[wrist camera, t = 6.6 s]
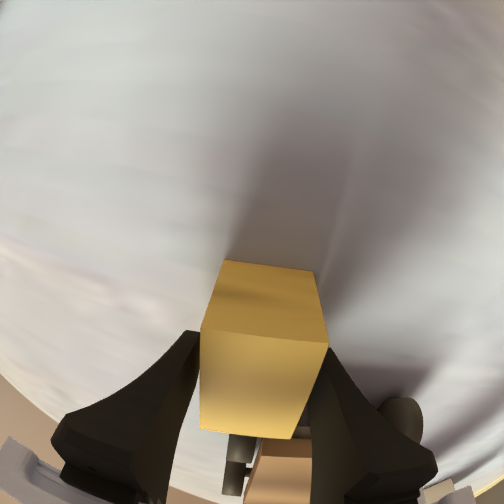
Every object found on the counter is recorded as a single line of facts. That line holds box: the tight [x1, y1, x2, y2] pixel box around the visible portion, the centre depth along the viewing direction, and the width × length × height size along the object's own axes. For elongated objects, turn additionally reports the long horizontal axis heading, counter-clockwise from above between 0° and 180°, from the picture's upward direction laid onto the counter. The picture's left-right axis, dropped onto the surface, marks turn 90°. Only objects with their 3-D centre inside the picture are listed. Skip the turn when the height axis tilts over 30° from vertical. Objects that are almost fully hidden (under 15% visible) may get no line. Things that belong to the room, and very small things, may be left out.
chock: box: [200, 260, 329, 439], centre depth 12 cm, size 7×4×5 cm, turn 173°
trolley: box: [222, 398, 423, 504], centre depth 16 cm, size 11×11×5 cm
